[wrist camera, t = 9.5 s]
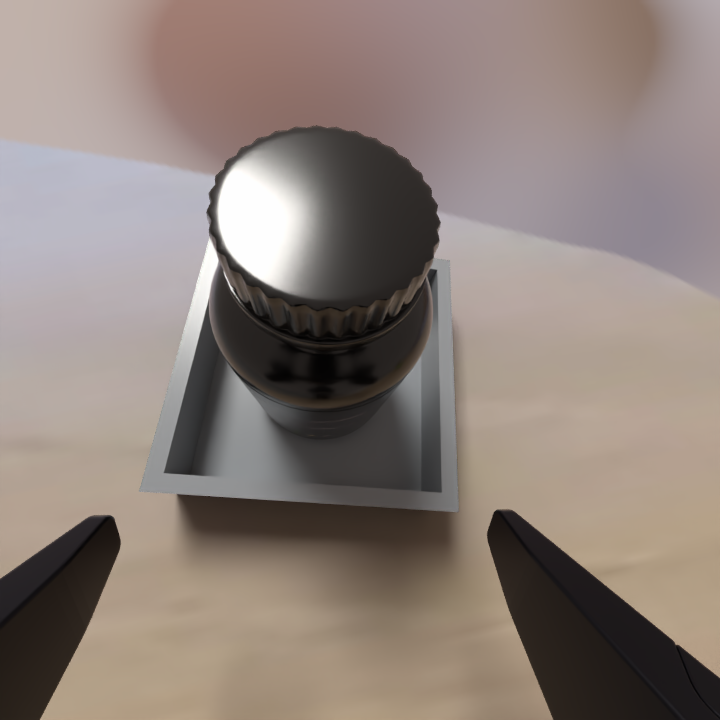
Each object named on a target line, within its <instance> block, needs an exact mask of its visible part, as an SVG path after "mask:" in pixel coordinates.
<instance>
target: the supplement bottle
mask: <svg viewBox="0 0 720 720" xmlns="http://www.w3.org/2000/svg"><path fill="white" fill-rule="evenodd" d="M209 199H210V205H209V207H208V209H207V212H206V213H207V219H208V221H209V224H210V227H209V236H210V239H211V242H212V244H213V246H214V249H215V251H216V253H217V257H218V260H219V263H218V266H217V268H216V270H215V273H214V276H213V279H212V283H211V288H210V294H209V316H210V322H211V327H212V331H213V334H214V337H215V340H216V342H217V344H218V347H219V349H220V351H221V352H222V354H223V356H224V357H225V359H226V361H227V363H228V364H229V365H230V367H231V368H232V369H233V371H234V372H235V374H236V375H237V376H238V377H239V379H240V380H241V381H242V382H243V384H244V385H245V386H246V388H247V389H248V390H249V391H250V393H251V394H252V395H253V396H254V398H255V399H256V400H257V401H258V403H259V404H260V405H261V407H262V408H263V409H264V410H265V412H266V413H267V414H268V415H269V416H270V417H271V418H272V419H273V420H274V421H275V422H276V423H277V424H278V425H279V426H281V427H282V428H284V429H285V430H287V431H289V432H291V433H293V434H295V435H298V436H301V437H304V438H308V439H316V440H326V439H334V438H338V437H342V436H345V435H347V434H350V433H352V432H354V431H355V430H357V429H359V428H360V427H362V426H363V425H364V424H365V423H367V422H368V421H369V420H370V419H371V418H372V417H373V416H374V415H375V413H376V412H377V411H378V410H379V409H380V407H381V406H382V405H383V404H384V403H385V402H386V400H387V399H388V398H389V397H390V396H391V394H392V393H393V392H394V391H395V390H396V389H397V387H398V386H399V385H400V384H401V383H402V381H403V380H404V379H405V377H406V376H407V375H408V374H409V373H410V371H411V370H412V369H413V367H414V366H415V364H416V363H417V361H418V360H419V358H420V357H421V355H422V353H423V351H424V349H425V347H426V344H427V341H428V339H429V335H430V331H431V327H432V319H433V300H432V293H431V288H430V284H429V281H428V278H427V273H428V272H429V270H430V268H431V266H432V263H433V258H434V254H435V252H436V250H437V248H438V245H439V235H438V231H439V228H440V223H441V222H440V220H439V217H438V215H437V208H438V205H437V203H436V202H435V200H434V199H433V197H432V190H431V188H430V187H429V186H428V185H427V184H426V183H425V182H424V180H423V176H422V174H421V172H419V171H418V170H416V169H415V168H414V167H412V165H411V163H410V161H409V160H408V159H407V158H405V157H403V156H401V155H399V154H398V153H397V151H396V150H395V149H394V148H392V147H390V146H387V145H384V144H382V143H381V142H380V141H378V140H377V139H376V138H372V137H367V136H364V135H362V134H361V133H359V132H357V131H346V130H343V129H341V128H338V127H329V128H326V127H322V126H317V125H316V126H312V127H307V128H306V127H294V128H292V129H289V130H283V131H275V132H274V133H272V134H271V135H269V136H266V137H261V138H257V139H256V140H255V141H254V142H253V143H252V144H251V145H248V146H245V147H242V148H241V149H240V150H239V151H238V153H237V155H236V156H234V157H232V158H230V159H228V160H227V161H226V163H225V166H224V169H223V170H222V171H220V172H219V173H218V174H217V175H216V176H215V186H214V187H213V188H212V189H211V191H210V192H209Z"/></svg>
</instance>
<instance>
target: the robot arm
mask: <svg viewBox="0 0 720 720" xmlns="http://www.w3.org/2000/svg"><path fill="white" fill-rule="evenodd" d="M487 539H488V544H489V547H490V550H491V553H492V557H493V560H494V563H495V567H496V570H497V573H498V576H499V580H500V583H501V586H502V590H503V593H504V596H505V599H506V602H507V605H508V608H509V611H510V613H511V616H512V619H513V621H514V624H515V626H516V629H517V631H518V634H519V636H520V638H521V641H522V643H523V646H524V648H525V651H526V653H527V656H528V658H529V661H530V663H531V666H532V668H533V671H534V673H535V676H536V678H537V680H538V683H539V685H540V688H541V690H542V693H543V695H544V698H545V700H546V703H547V705H548V708H549V710H550V713H551V715H552V718H553V720H720V678H719V677H718V676H717V675H715V674H714V673H713V672H712V671H710V670H709V669H708V668H707V667H705V666H704V665H703V664H702V663H700V662H699V661H698V660H697V659H695V658H694V657H693V656H692V655H690V654H689V653H688V652H687V651H686V650H684V649H683V648H682V647H681V646H679V645H675V642H674V641H673V640H672V639H671V638H669V637H668V636H667V635H666V634H664V633H663V632H662V631H661V630H660V629H658V628H657V627H656V626H655V625H653V624H652V623H651V622H650V621H648V620H647V619H646V618H645V617H644V616H642V615H641V614H640V613H639V612H637V611H636V610H635V609H634V608H633V607H631V606H630V605H629V604H628V603H626V602H625V601H624V600H623V599H621V598H620V597H619V596H618V595H617V594H615V593H614V592H613V591H612V590H610V589H609V588H608V587H607V586H605V585H604V584H603V583H602V582H601V581H599V580H598V579H597V578H596V577H594V576H593V575H592V574H591V573H589V572H588V571H587V570H586V569H585V568H583V567H582V566H581V565H580V564H578V563H577V562H576V561H575V560H574V559H572V558H571V557H570V556H569V555H567V554H566V553H565V552H564V551H562V550H561V549H560V548H559V547H558V546H556V545H555V544H554V543H553V542H551V541H550V540H549V539H548V538H546V537H545V536H544V535H543V534H542V533H540V532H539V531H538V530H537V529H535V528H534V527H533V526H532V525H531V524H529V523H528V522H527V521H526V520H524V519H523V518H522V517H521V516H519V515H518V514H517V513H516V512H514V511H513V510H509V509H502V510H496V511H495V512H494V514H493V517H492V520H491V523H490V526H489V529H488V532H487ZM120 545H121V540H120V536H119V533H118V529H117V526H116V523H115V519H114V517H112V516H111V515H94V516H90V517H88V518H87V519H85V520H84V521H82V522H81V523H79V524H78V525H76V526H75V527H74V528H72V529H71V530H69V531H68V532H66V533H65V534H64V535H62V536H61V537H59V538H58V539H56V540H55V541H54V542H52V543H51V544H49V545H48V546H46V547H45V548H43V549H42V550H41V551H39V552H38V553H36V554H35V555H33V556H32V557H31V558H29V559H28V560H26V561H25V562H23V563H22V564H21V565H19V566H18V567H16V568H15V569H13V570H12V571H11V572H9V573H8V574H6V575H5V576H3V577H2V578H1V579H0V720H40V718H41V716H42V715H43V713H44V711H45V709H46V707H47V705H48V703H49V701H50V699H51V697H52V695H53V693H54V691H55V690H56V688H57V686H58V684H59V682H60V680H61V678H62V676H63V674H64V672H65V670H66V668H67V666H68V665H69V663H70V661H71V659H72V657H73V655H74V653H75V651H76V649H77V647H78V645H79V643H80V641H81V639H82V637H83V635H84V633H85V631H86V629H87V627H88V625H89V622H90V620H91V618H92V616H93V613H94V611H95V608H96V606H97V604H98V601H99V599H100V596H101V594H102V591H103V589H104V587H105V584H106V582H107V579H108V577H109V574H110V572H111V570H112V567H113V565H114V562H115V560H116V557H117V555H118V553H119V550H120Z"/></svg>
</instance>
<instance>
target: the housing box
mask: <svg viewBox="0 0 720 720" xmlns="http://www.w3.org/2000/svg"><path fill="white" fill-rule="evenodd" d="M218 263H219V260H218V257H217V253H216V251H215V249H214V246H213V244H212V242H211V239H210V238H209V242H208V246H207V249H206V253H205V256H204V260H203V263H202V267H201V271H200V274H199V278H198V281H197V285H196V289H195V292H194V296H193V299H192V303H191V307H190V310H189V314H188V317H187V321H186V325H185V328H184V332H183V335H182V339H181V343H180V346H179V350H178V353H177V357H176V360H175V364H174V368H173V371H172V375H171V378H170V382H169V386H168V389H167V393H166V396H165V400H164V404H163V407H162V411H161V414H160V418H159V422H158V425H157V429H156V432H155V436H154V440H153V443H152V447H151V450H150V454H149V457H148V461H147V465H146V468H145V472H144V475H143V479H142V483H141V486H140V490H139V492H154V493H169V494H184V495H200V496H215V497H231V498H246V499H262V500H277V501H292V502H308V503H323V504H339V505H354V506H370V507H385V508H401V509H416V510H431V511H447V512H459V505H458V477H457V449H456V421H455V393H454V365H453V337H452V309H451V281H450V260H443V259H436V258H433V263H432V266H431V268H430V270H429V272H428V273H427V278H428V281H429V284H430V288H431V293H432V300H433V319H432V327H431V331H430V335H429V339H428V341H427V344H426V347H425V349H424V351H423V353H422V355H421V357H420V358H419V360H418V361H417V363H416V364H415V366H414V367H413V369H412V370H411V371H410V373H409V374H408V375H407V376H406V377H405V379H404V380H403V381H402V383H401V384H400V385H399V386H398V387H397V389H396V390H395V391H394V392H393V393H392V394H391V396H390V397H389V398H388V399H387V400H386V402H385V403H384V404H383V405H382V406H381V407H380V409H379V410H378V411H377V412H376V413H375V415H374V416H373V417H372V418H371V419H370V420H369V421H368V422H367V423H365V424H364V425H363V426H362V427H360V428H359V429H357V430H355V431H354V432H352V433H350V434H347V435H345V436H342V437H338V438H334V439H326V440H316V439H308V438H304V437H301V436H298V435H295V434H293V433H291V432H289V431H287V430H285V429H284V428H282V427H281V426H279V425H278V424H277V423H276V422H275V421H274V420H273V419H272V418H271V417H270V416H269V415H268V414H267V413H266V412H265V410H264V409H263V408H262V407H261V405H260V404H259V403H258V401H257V400H256V399H255V398H254V396H253V395H252V394H251V393H250V391H249V390H248V389H247V388H246V386H245V385H244V384H243V382H242V381H241V380H240V379H239V377H238V376H237V375H236V374H235V372H234V371H233V369H232V368H231V367H230V365H229V364H228V363H227V361H226V359H225V357H224V356H223V354H222V352H221V351H220V349H219V347H218V344H217V342H216V340H215V337H214V334H213V331H212V327H211V322H210V316H209V294H210V288H211V283H212V279H213V276H214V273H215V270H216V268H217V266H218Z"/></svg>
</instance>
